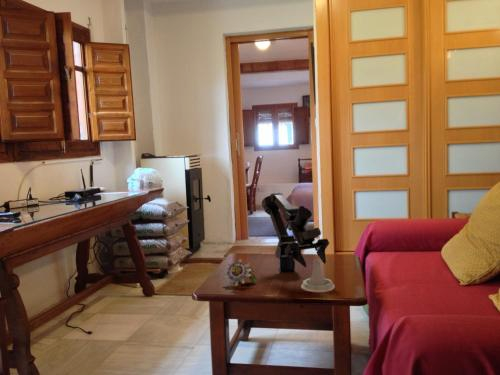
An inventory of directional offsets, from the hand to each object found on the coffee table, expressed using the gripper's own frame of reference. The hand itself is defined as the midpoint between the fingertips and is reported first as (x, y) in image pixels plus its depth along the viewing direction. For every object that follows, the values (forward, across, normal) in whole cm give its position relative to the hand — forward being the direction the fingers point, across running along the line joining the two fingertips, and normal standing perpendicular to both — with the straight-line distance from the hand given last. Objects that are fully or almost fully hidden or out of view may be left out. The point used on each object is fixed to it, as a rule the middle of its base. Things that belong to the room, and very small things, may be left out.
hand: (315, 264), depth 171 cm
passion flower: (-7, -24, +20) cm, 32 cm away
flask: (+7, 0, +5) cm, 8 cm away
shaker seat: (+7, 0, +5) cm, 9 cm away
